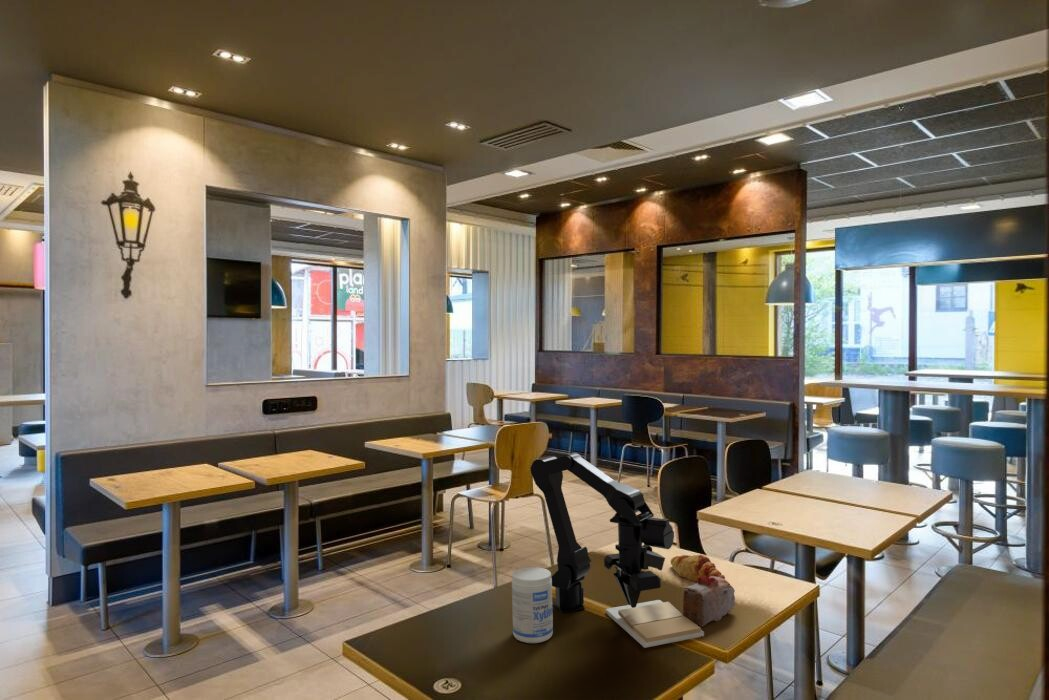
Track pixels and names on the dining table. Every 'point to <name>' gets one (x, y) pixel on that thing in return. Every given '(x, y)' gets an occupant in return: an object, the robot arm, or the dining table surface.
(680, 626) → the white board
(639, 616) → the click plank
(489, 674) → the dining table surface
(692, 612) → the food item
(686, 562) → the croissant
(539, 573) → the supplement tub
